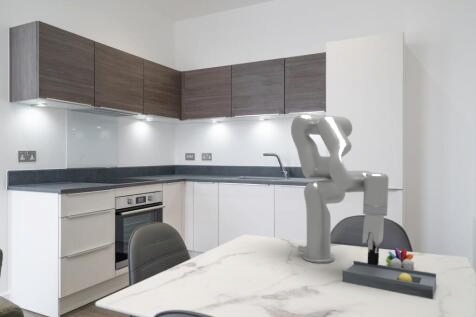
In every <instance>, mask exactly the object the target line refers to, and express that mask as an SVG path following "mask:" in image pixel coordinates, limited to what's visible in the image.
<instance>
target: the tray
mask: <svg viewBox="0 0 476 317" xmlns="http://www.w3.org/2000/svg"><path fill="white" fill-rule="evenodd" d="M402 273H406V274H408V275H410V276H411V278H412V282H408V281H402V280H398V277H399V275H400V274H402ZM342 283H349V284H354V285H359V286H363V287H370V288H375V289H381V290H384V291H385V290H386V291H389V292H395V293H401V294H406V295H411V296H417V297H422V298H425V299H432V300H433V298H434V295H435V291H436V286H437V273H435V272H434V273H433V272H428V271H422V270H417V269H415V270H414V269H411V270H410V269H404V268H403V267H401V268H397V267H391V266H390V265H384V264H378V265H377V266H376V265H371V264H368V262H363V261H358V260H353V264H352V265H350V266H349V267H348V268H347V269H346V270H342Z"/></svg>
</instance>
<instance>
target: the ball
mask: <svg viewBox="0 0 476 317" xmlns="http://www.w3.org/2000/svg"><path fill="white" fill-rule="evenodd" d="M398 280H402V281H408V282H412V278H411V276H410V275H408V274H406V273H402V274H400V275H399V277H398Z"/></svg>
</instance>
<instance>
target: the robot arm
mask: <svg viewBox="0 0 476 317" xmlns="http://www.w3.org/2000/svg"><path fill="white" fill-rule="evenodd" d="M352 124H353V123H352V122H351V121H350V120H349V119H348V118H347V117H344V116H334V115H322V114H309V113H302V114H298V115H297V116H295V117H294V118H293V120H292V122H291V126H290V135H291V138H292V141H293V143H294V145H295V148H296V151H297V155H298V160H299V164H300V166H301V171H302V174H303V176H304V177H305V178H306V179H310V180H314V181H311V182H308V183H307V184H306V185H305V187H304V189H303V196H304V201H305V208H306V245H304V246H303V245H298V246H297V251H298V252H303V254H302V259H303V260H304V261H307V262H311V263H318V264H328V263H331V262H334V261H335V258H336V257H335V255H334V254H332V253H331V252H332V250H331V245H332V244H331V240H332V238H331V236H332V235H331V234H332V233H331V228H332V226H331V218H332V217H331V212H330V209H329V208H328V205H330V204H339V203H341V202H343V201H344V199H345V198H346V193H363V201H362V202H363V207H362V209H363V210H362V214H363V215H364V218H363V227H362V240H361V242H362V244H363V245H366V244H367V263H368V264H371V265H376V266H377V265H380V264H379V263H380V262H379V259H380V244H381V243H382V242H383V239H384V228H385V227H384V225H385V224H384V222H385V220H384V219H385V218H384V217H387V216H388V204H389V203H388V202H389V201H388V200H389V198H388V197H389V176H388V174H387V173H382V172H372V171H369V170H348V169H347V167H346V166H345V164H344V161H343V158H342V157H344V156H346V155H347V154H348V153H349V152H350V151H351V150H352V147H353V146H352V145H353V144H352V142H351V141H350V139H349V138H348V137H350V135H351V134H352V132H353V125H352ZM310 135H312V136H313V135H315V136H316V135H318V136H320V138H321V140H322V141H323V143H324V145H325V147H326V149H327V151H328V153H329V156H324V155H321V154H320V152H319V148H318V145H317V143H316V142H315V140H314V139H313V138H312V137H311V136H310Z"/></svg>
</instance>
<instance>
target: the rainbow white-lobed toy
mask: <svg viewBox="0 0 476 317" xmlns="http://www.w3.org/2000/svg"><path fill="white" fill-rule="evenodd" d="M388 254H389V255H388V256H387V257H386V259H385V262H386V263H387V264H388V266H391V267H397V268H404V269H410V270H413V268H414V266H415V262H413V261H412V259H413V258H414V255H413V254H412V253H408V251H407V249H406V248H402V250H401V251H400V249H399V248H398V247H395V248H394V253H393V252H392V251H388Z"/></svg>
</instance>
